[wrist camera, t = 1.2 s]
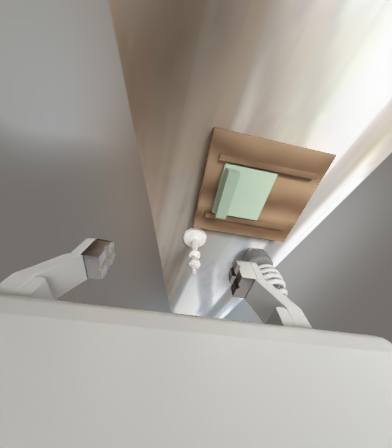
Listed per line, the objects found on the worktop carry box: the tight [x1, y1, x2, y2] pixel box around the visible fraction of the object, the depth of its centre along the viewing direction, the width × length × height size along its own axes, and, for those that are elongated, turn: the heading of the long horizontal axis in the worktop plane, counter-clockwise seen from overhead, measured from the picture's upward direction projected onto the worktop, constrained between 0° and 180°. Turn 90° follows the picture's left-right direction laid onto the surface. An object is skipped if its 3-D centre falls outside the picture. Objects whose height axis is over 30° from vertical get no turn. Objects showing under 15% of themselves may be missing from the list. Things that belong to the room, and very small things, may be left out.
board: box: [193, 128, 336, 242], centre depth 26 cm, size 16×18×3 cm
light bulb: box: [243, 248, 287, 296], centre depth 30 cm, size 6×6×12 cm
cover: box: [212, 163, 278, 220], centre depth 24 cm, size 8×8×3 cm
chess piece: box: [183, 227, 207, 275], centre depth 29 cm, size 5×5×10 cm
